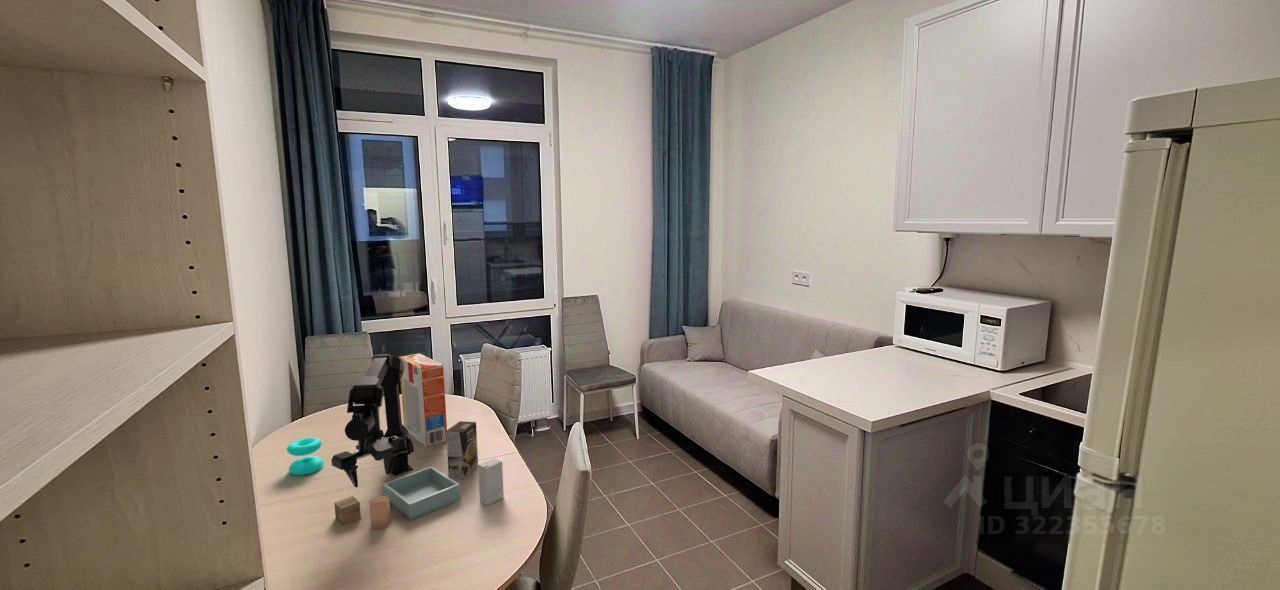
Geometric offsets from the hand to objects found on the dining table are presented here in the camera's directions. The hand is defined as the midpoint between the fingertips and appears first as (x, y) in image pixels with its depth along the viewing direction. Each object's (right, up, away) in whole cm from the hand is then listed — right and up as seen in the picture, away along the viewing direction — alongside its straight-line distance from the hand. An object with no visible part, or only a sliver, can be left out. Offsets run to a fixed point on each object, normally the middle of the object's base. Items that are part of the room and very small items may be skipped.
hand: (372, 480), depth 154 cm
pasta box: (-9, -3, +60) cm, 61 cm away
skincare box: (+30, -10, +12) cm, 34 cm away
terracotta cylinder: (+3, -12, -1) cm, 12 cm away
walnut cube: (-8, -12, +2) cm, 14 cm away
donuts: (-38, -7, +31) cm, 50 cm away
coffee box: (+16, -7, +30) cm, 35 cm away
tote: (+9, -10, +12) cm, 18 cm away
